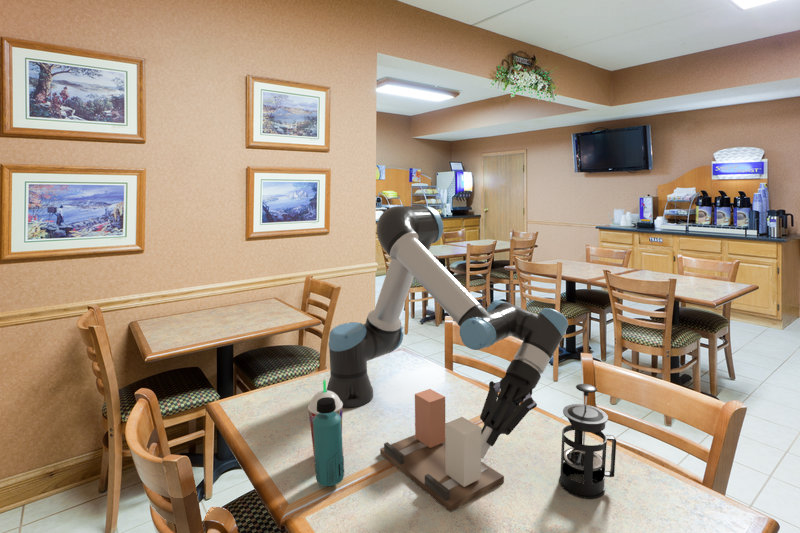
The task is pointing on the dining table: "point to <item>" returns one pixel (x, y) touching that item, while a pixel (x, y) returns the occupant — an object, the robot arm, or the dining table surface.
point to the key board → (437, 472)
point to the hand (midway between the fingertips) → (477, 455)
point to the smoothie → (313, 406)
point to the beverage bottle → (328, 443)
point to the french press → (585, 449)
